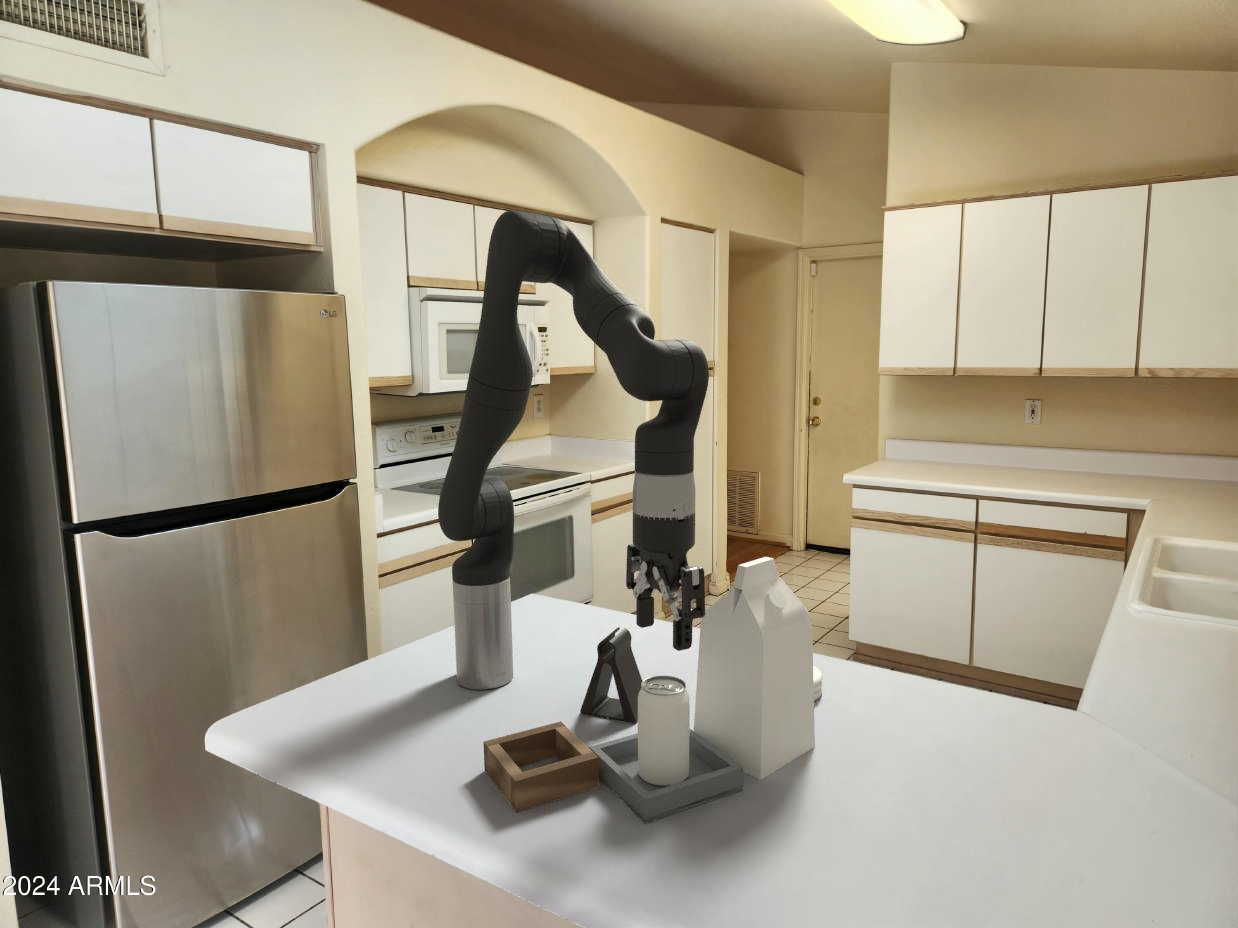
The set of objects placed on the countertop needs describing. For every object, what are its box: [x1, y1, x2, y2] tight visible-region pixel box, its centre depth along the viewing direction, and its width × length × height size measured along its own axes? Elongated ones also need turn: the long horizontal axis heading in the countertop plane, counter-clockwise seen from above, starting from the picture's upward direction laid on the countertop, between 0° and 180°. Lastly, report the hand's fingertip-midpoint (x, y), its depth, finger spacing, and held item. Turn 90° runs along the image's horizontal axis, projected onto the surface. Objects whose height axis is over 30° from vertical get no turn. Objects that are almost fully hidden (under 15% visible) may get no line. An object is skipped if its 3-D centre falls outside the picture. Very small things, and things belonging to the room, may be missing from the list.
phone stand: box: [579, 627, 643, 725], centre depth 120 cm, size 9×6×12 cm, turn 67°
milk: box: [693, 556, 816, 780], centre depth 108 cm, size 12×12×26 cm
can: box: [637, 675, 691, 787], centre depth 101 cm, size 6×6×12 cm
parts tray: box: [588, 728, 744, 824], centre depth 102 cm, size 14×14×3 cm
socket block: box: [482, 720, 600, 814], centre depth 102 cm, size 11×11×4 cm
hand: (663, 637), depth 99 cm, fingers open, 8 cm apart
